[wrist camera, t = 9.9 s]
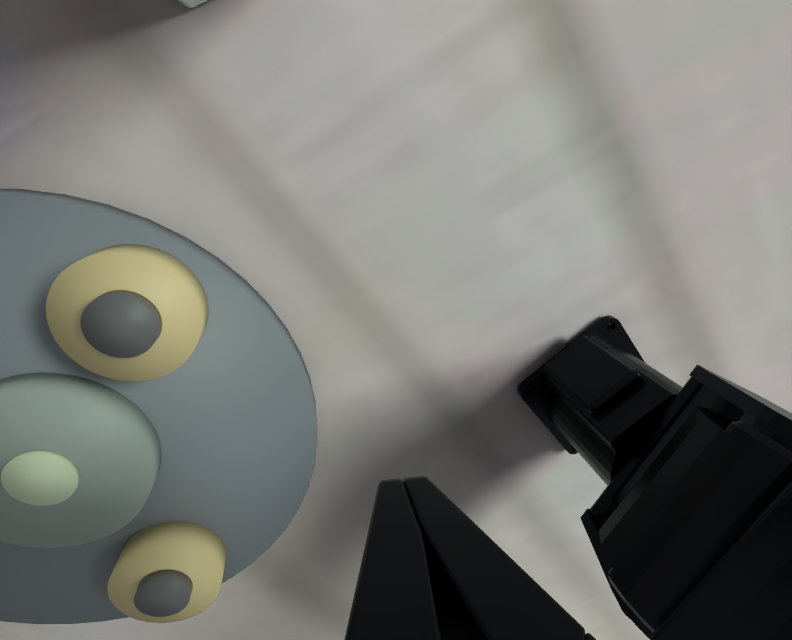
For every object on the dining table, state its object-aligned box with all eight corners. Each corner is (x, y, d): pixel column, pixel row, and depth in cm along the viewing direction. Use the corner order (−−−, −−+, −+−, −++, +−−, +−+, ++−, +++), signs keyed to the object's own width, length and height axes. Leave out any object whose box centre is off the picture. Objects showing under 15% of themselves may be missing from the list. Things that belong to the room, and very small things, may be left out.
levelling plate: (402, 423, 23) (417, 466, 20) (122, 652, 25) (97, 722, 22) (-12, 45, 14) (-100, 18, 11) (-383, 453, 16) (-542, 525, 13)
